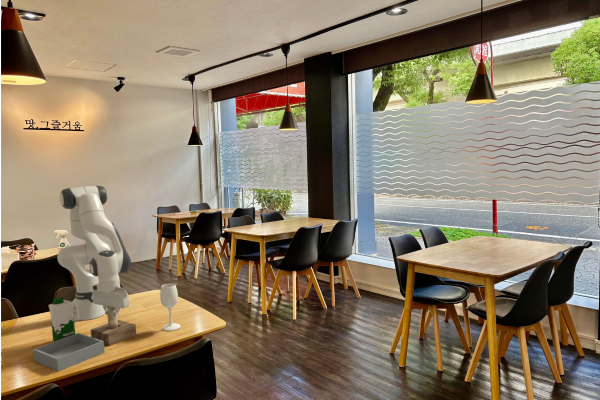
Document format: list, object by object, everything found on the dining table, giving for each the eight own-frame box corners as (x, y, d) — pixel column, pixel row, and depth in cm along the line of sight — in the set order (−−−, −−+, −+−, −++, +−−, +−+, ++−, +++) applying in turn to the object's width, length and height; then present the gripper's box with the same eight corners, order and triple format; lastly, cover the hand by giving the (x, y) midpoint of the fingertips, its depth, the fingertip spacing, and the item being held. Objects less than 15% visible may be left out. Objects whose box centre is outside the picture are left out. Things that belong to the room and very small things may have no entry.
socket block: (91, 339, 204) (90, 329, 204) (118, 329, 216) (117, 319, 216) (109, 345, 197) (108, 334, 196) (136, 334, 208) (135, 324, 208)
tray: (34, 360, 185) (32, 349, 184) (79, 343, 201) (78, 332, 200) (58, 371, 174) (57, 359, 173) (104, 352, 190) (103, 341, 189)
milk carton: (68, 336, 210) (64, 295, 209) (79, 339, 206) (75, 297, 204) (50, 343, 203) (45, 300, 201) (61, 346, 198) (56, 303, 196)
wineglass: (158, 328, 215) (155, 286, 213) (174, 323, 221) (171, 282, 219) (168, 332, 209) (164, 289, 207) (184, 326, 215) (181, 284, 214)
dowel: (107, 335, 206) (104, 305, 204) (114, 331, 209) (111, 303, 208) (113, 336, 204) (110, 306, 202) (120, 333, 207) (117, 304, 206)
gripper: (131, 286, 202) (133, 315, 204) (100, 282, 212) (102, 310, 213) (120, 290, 197) (122, 320, 198) (88, 285, 206) (91, 314, 207)
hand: (112, 315), depth 206 cm, fingers closed on dowel, 4 cm apart
